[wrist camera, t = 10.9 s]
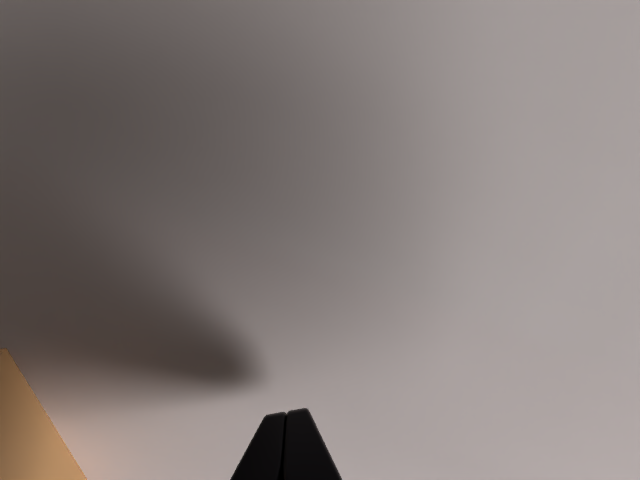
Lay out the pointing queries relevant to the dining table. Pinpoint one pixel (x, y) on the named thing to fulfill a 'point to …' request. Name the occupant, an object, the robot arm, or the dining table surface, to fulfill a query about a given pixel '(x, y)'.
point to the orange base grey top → (29, 433)
